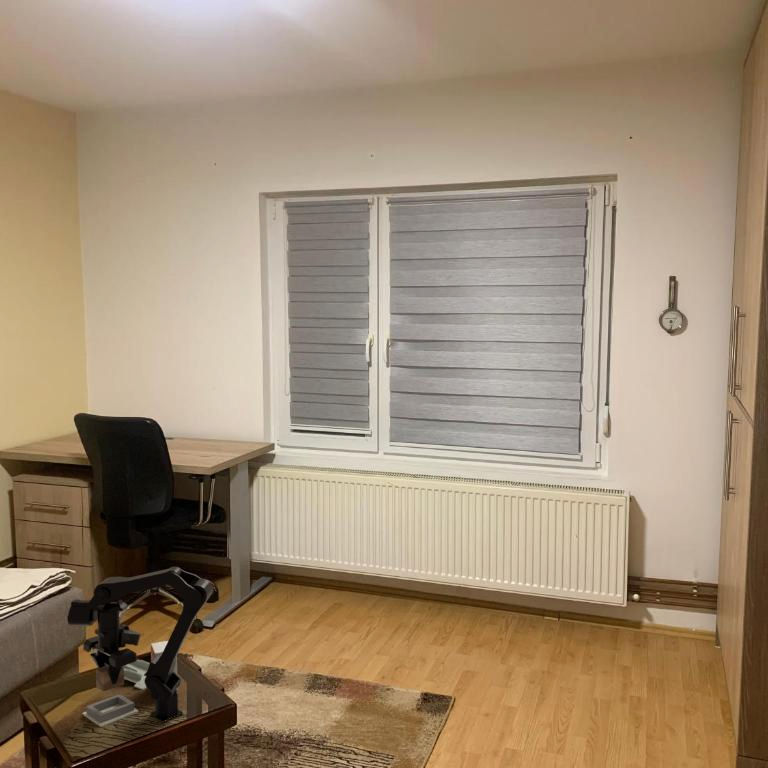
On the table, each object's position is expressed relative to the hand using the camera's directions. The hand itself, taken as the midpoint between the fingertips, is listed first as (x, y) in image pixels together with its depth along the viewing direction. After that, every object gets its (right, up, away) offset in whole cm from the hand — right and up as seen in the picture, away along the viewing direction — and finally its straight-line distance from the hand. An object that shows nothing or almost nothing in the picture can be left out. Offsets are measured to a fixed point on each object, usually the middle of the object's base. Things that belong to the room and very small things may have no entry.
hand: (110, 681), depth 214 cm
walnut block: (0, -1, 0) cm, 1 cm away
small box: (+10, -9, +15) cm, 20 cm away
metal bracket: (-1, -8, +23) cm, 25 cm away
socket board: (0, -9, 0) cm, 9 cm away
